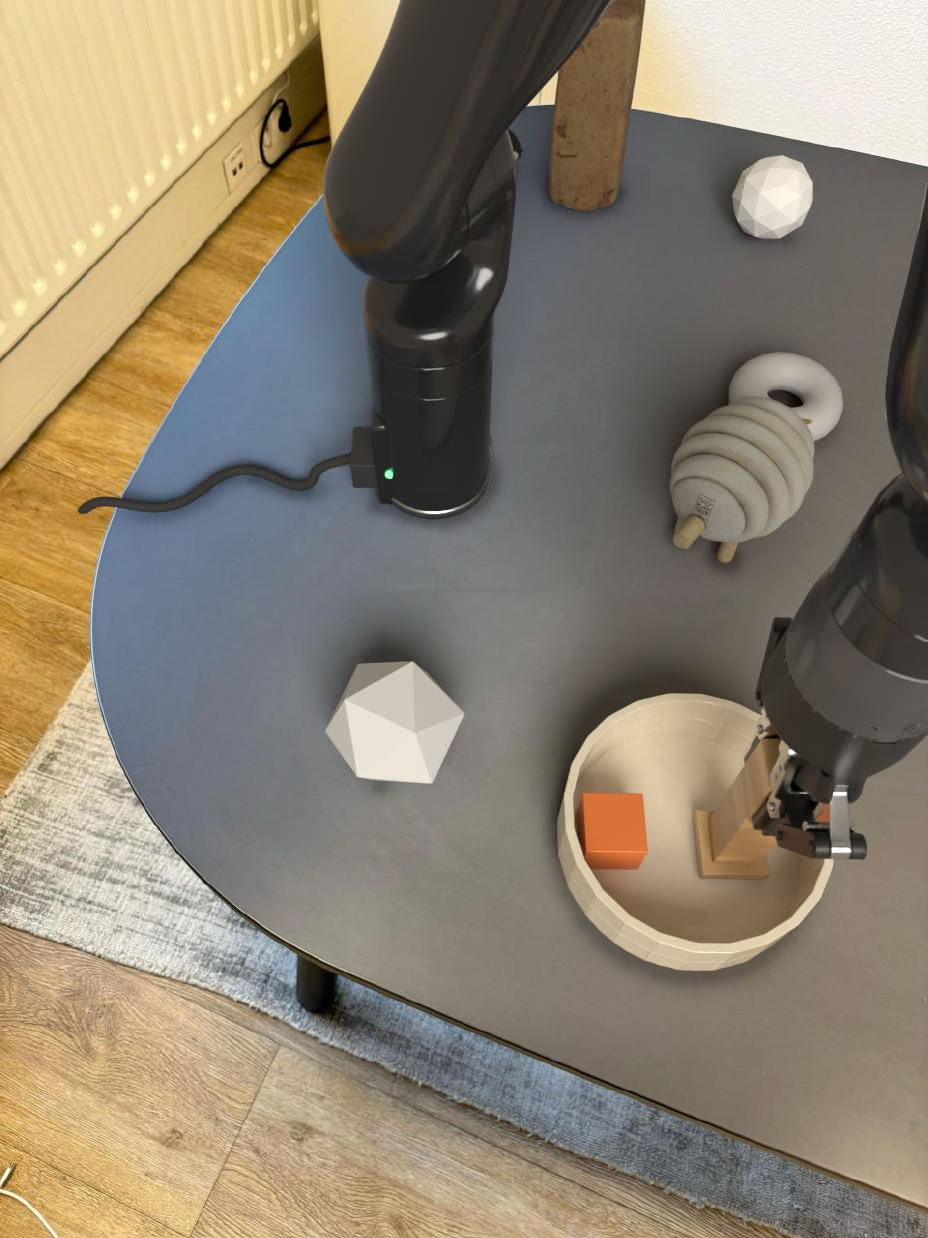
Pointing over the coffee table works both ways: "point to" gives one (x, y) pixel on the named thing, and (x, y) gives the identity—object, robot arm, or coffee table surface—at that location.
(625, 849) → the orange block
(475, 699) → the coffee table surface
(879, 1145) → the coffee table surface
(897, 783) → the coffee table surface
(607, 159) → the block
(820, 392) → the donut
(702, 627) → the coffee table surface
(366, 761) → the die
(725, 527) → the toy sheep
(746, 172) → the geometric ball
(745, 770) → the wooden pillar
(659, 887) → the bowl
